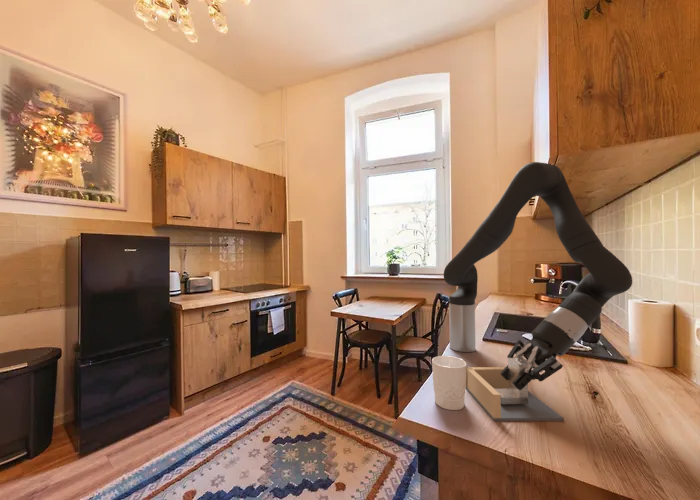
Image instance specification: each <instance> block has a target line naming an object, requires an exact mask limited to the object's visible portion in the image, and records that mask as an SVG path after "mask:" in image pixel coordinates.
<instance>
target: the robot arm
mask: <svg viewBox="0 0 700 500" xmlns="http://www.w3.org/2000/svg"><path fill="white" fill-rule="evenodd" d="M547 163H548V162H547ZM547 163H546V162H537V161H534V162H533V161H532V162H529V163H525V165H523V166H522V167H521V168H519V169H518V171H517V172H516V174H515V175H514V176H513V178H512V180H511V181H510V183H509V185H508V186H507V187H506V189H505V191H504V193H503V194H502V196H501V197H500V199H499V200H498V202H497V203H496V204H495V206H494V207H493V209H491V211H490V212H489V214H488V215H487V216H486V217H485V219H484V220H482V222H481V224H480V225H479V226H478V228H477V229H476V230H475V232H474V233H473V235H472V236H471V237H470V239H469V240H468V241H467V242H466V243H465V245H464V246H463V247H462V248H461V250H460V251H458V253H457V254H456V255H455V256H454V257H453V258H452V259H451V260H450V261H449V262H448V263H447V265H446V266H445V267H444V269H443V279H444V281H445V283H446V284H448V285H449V286H452V287H457V289H456V290H455V292H453V293H451V294H450V295H449V297H448V311H449V316H448V317H449V322H448V323H449V348H450V349H451V350H453V351H456V352H461V353H471V352H472V353H473V352H475V351H476V348H477V347H476V299H477V295H478V278H479V277H478V270H477V267H476V266H475V264H476V263H478V262H479V261H481V260H483V259H484V258H486V257H488V256H490V255H491V254H493V253H494V252H496V251H497V250H498V249H499V248H500V247H501V246H502V245H503V244H505V242H506V241H507V239H509V237H510V236H511V234H512V233H513V231H514V228H515V223H516V220H517V216H518V215H519V213H520V212H521V211H522V210H523V208H524V207H525V206H526V204H527V203H528V202H529V201H530V200H531V199H533V198H534V197H540V199H542V200H543V201H544V203H545V204H546V205H547V206H548V207H549V210H550V211H551V213H552V216H553V217H552V218H553V220H554V226H555V231H556V234H557V237H558V239H559V240H560V242H561V244H562V246H563V247H564V249H565V250H566V252H567V254H568V256H569V258H571V259H572V261H574V262H575V263H578V264H582V265H583V267H584V268H585V269H587V271H588V273H587V274H586V275H584V277H583V278H582V279H581V280H580V281H579V282H578V284H577V285H576V286H575V287H574V289H573V291H572V292H571V293H570V294H569V295H568V296H567V297H565V298H564V299H563V300H562V302H561V303H560V304H558V306H556V308H555V309H553V310H552V311H551V312H549V313H548V314H547V315H546V316H545V318H544V319H543V320H541V322H539V323H538V325H536V327H535V328H534V329H533V330H532V331H531V337H532V338H531V339H530V340H528V341H527V342H523V341H522V340H520V339H518V340H517V341H516V342H515V343H514V345H513V347H512V348H511V350H510V351H509V353H508V355H507V359H508V358H517V359H519V360H521V361H522V362H524V363H526V364H527V367H526V368H525V370H524V372H525V373H524V372H523V371H522V372H521V373H520V375H519V376H518V377H517V378H516V379H515V380H514V381H513V382H512V384H513V385H514V386H515V387H516V388H517V389H519V390H522V389H523V388H524V387H525V386H526V385H527V384H528V385H529V383H531V381H535V380H538V382H543V381H544V380H546V379H547V378H549V377H551V376H552V375H554V374H556V373H557V372H558V371H560V370H561V369H562V368H563V366H564V365H563V364H562V363H561V362H560V361H559V360H558V359H557V357H563V356H564V355H565V354H566V353H567V352H568V351H569V350H570V348H572V347H573V346H574V345H575V343H577V341H578V340H580V338H582V336H583V335H584V334H585V332H586V330H587V329H588V328H589V327H590V326H591V325H592V324H593V323H594V322H595V321H596V320H597V319H598V317H599V316H600V315H601V314H602V311H603V307H604V305H606V303H607V302H608V301H610V299H612V298H613V297H614V296H617V295H620V294H623V293H625V292H627V291H628V290H630V289H631V287H632V286H633V277H632V274H631V272H630V270H629V269H628V267H627V266H626V265H625V264H624V262H622V261H621V260H620V259H619V258H618V257H616V255H614V254H613V253H612V251H610V250H609V249H607V247H605V246H604V244H603V242H602V241H601V240H600V238H599V237H598V236H597V234H596V233H595V231H594V229H593V228H592V227H591V225H590V224H589V223H588V221H587V220H586V218H585V217H584V215H583V213H582V211H581V209H580V208H579V206H578V204H577V202H576V200H575V198H574V196H573V193H572V191H571V189H570V187H569V185H568V183H567V179H566V177H565V175H564V173H563V171H562V170H561V168H560V167H558V166H557V165H556V164H553V165H551V164H552V163H548V164H547ZM505 367H506V368H505V369H504V370H503V371H502V372H501V375H502V376H503V377H504V378H505V379H506V380H509V373H508V364H507V365H506V366H505Z"/></svg>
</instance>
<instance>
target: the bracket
mask: <svg viewBox="0 0 700 500" xmlns="http://www.w3.org/2000/svg"><path fill="white" fill-rule="evenodd" d="M507 362H508V363H507V365H508V373H509V389H495V390H496V391H497V392H498V393H499V394H500V395H501V403H502V404H528V391H529V383H528V384H527V385H526V386H525V387H524V388H523V389H522V390H519V389H517V388H516V387H515V386H514V385H513V384H512V382H513V381H514V380H515V379H516V378H517V377H518V376H519V375H520V373H521V372H522V371H523V372H524V370H525V368H526V367H527V364H526V363H524V362H522V361H521V360H519V359H517V358H507ZM524 373H525V372H524Z"/></svg>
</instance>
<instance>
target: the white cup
mask: <svg viewBox="0 0 700 500" xmlns="http://www.w3.org/2000/svg"><path fill="white" fill-rule="evenodd" d="M431 367H432V381H433V382H432V385H433V392H434V393H433V394H434V403H435V404H436V405H437V406H439V407H440V408H442V409H444V410H448V411H458V410H463V408H464V407H465V394H466V367H467V362H466V361H465V360H464V359H462V358H458V357H455V356H450V355H438V356H434V357H432V359H431Z"/></svg>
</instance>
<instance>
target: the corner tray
mask: <svg viewBox="0 0 700 500" xmlns="http://www.w3.org/2000/svg"><path fill="white" fill-rule="evenodd" d="M505 368H506V366H495V367H494V366H487V367H483V366H478V367H477V366H472V367H471V366H469V367H467V366H466V387H465V390H466V391H467V392H468V393H469V394H470V395H471V396H472V398H473V399H474V400H475V401H476V402H477V403H478V404H479V405H480V407H481V408H482V409H483V410H484V411H485V412H486V413H487V415H488V416H489V417H490V418H491V419H492V420H493V421H494V422H537V421H539V422H546V421H547V422H548V421H549V422H550V421H551V422H553V421H554V422H555V421H556V422H559V421H560V422H562V421H565V418H564V417H563V416H562V415H561V414H559V413H558V412H557V411H555V410H554V409H553V408H551V407H550V406H549V405H547V403H545V402H543V401H542V400H541V399H540V398H538V396H536V395H535V394H533V393H532V392H530V391H529V390H528V404H502V403H501V395H500V394H499V393H498V392H497V391H496V390H495V389H509V380H506V379H505V378H504V377H503V376H502V375H501V372H502V371H503V370H504V369H505Z"/></svg>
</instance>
